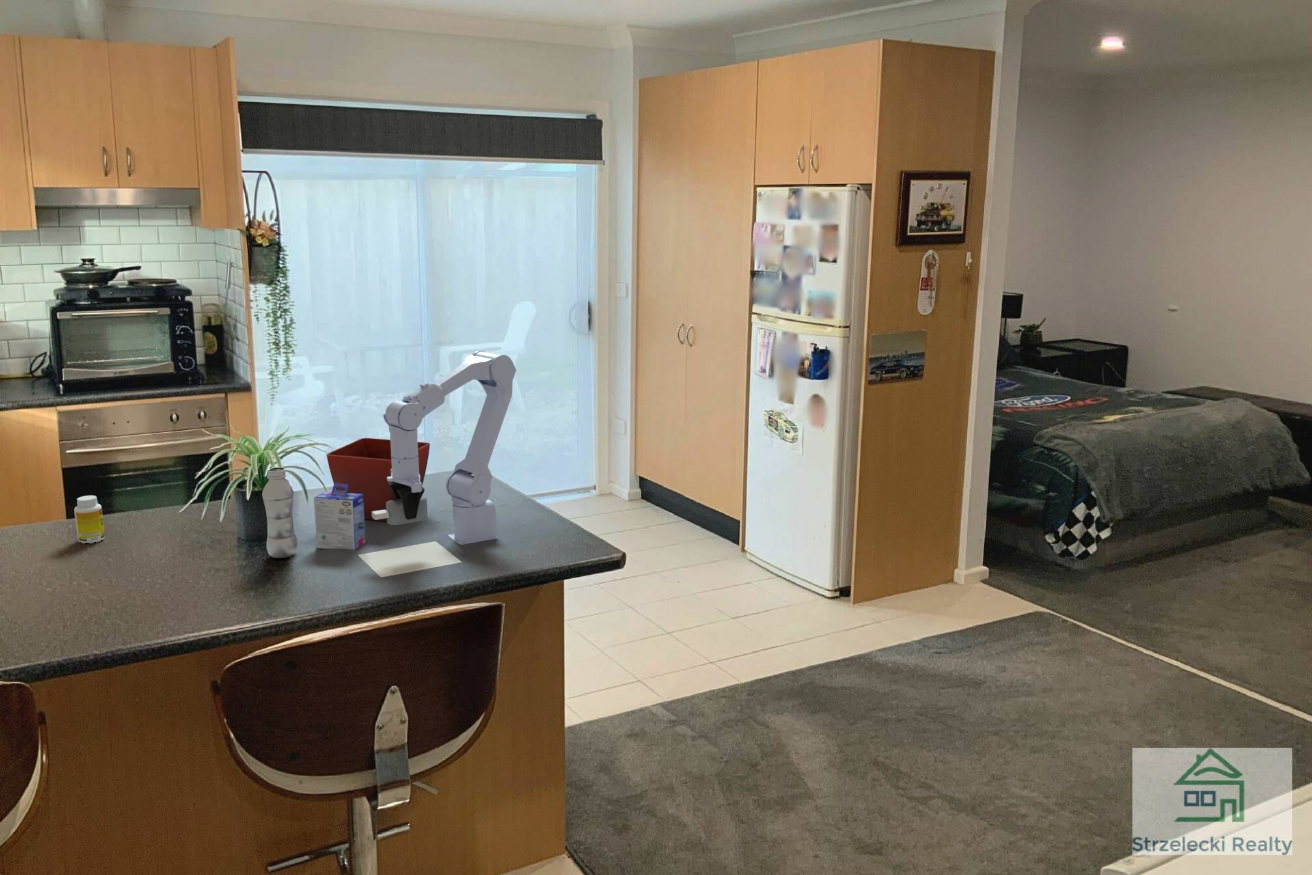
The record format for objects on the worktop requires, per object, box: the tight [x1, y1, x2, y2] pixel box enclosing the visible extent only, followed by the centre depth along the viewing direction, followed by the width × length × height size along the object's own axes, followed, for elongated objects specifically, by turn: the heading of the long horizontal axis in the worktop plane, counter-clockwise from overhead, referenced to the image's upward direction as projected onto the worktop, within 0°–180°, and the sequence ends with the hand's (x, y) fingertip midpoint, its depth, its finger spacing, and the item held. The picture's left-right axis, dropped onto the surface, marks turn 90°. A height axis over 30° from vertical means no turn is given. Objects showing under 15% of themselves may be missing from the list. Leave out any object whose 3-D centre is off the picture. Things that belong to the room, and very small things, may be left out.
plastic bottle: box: [261, 466, 299, 559], centre depth 231 cm, size 6×7×20 cm
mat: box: [357, 540, 463, 578], centre depth 232 cm, size 18×16×1 cm
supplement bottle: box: [73, 495, 106, 544], centre depth 242 cm, size 6×6×10 cm
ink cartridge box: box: [313, 483, 367, 550], centre depth 239 cm, size 10×6×14 cm, turn 78°
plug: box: [372, 496, 429, 526], centre depth 231 cm, size 12×4×4 cm, turn 122°
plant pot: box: [326, 437, 431, 522], centre depth 263 cm, size 19×19×17 cm
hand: (407, 515), depth 233 cm, fingers closed on plug, 4 cm apart
